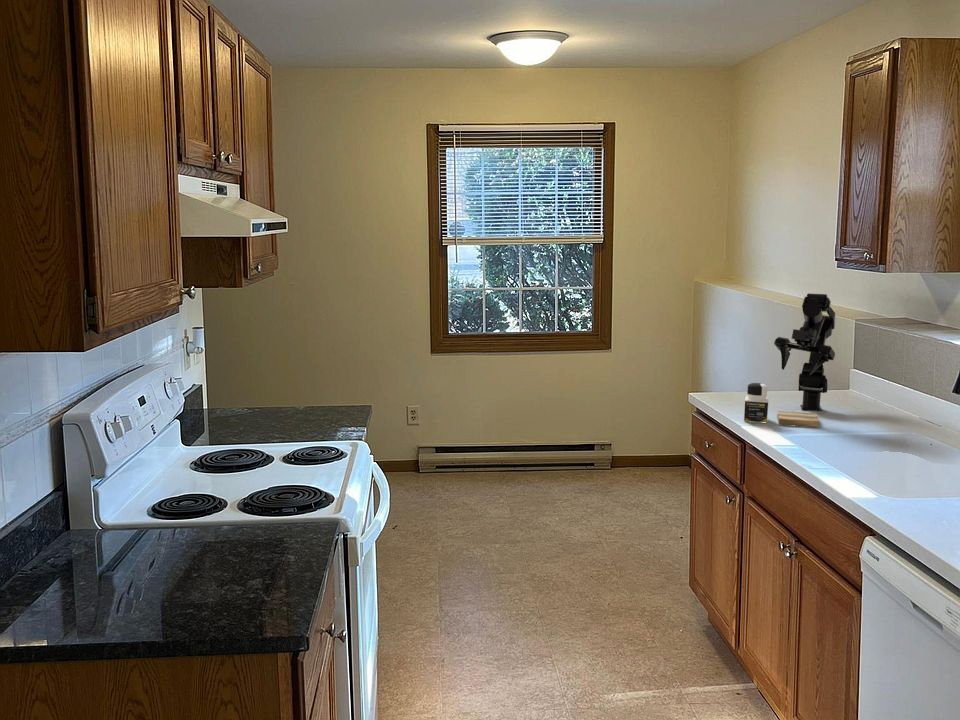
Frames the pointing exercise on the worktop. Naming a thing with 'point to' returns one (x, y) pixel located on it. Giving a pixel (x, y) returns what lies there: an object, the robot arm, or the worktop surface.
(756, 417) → the medicine bottle
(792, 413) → the tan flat square slab
